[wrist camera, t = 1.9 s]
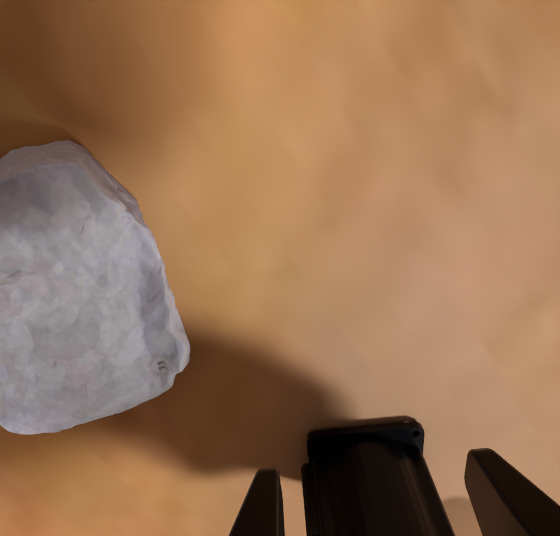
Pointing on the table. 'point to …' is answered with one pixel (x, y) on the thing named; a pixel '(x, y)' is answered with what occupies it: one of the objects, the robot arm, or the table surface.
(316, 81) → the table surface
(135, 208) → the stone block
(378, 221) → the table surface
